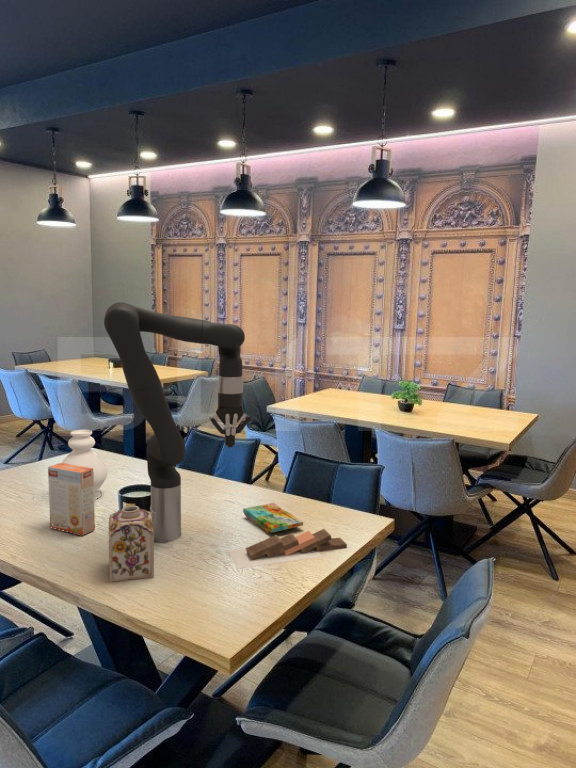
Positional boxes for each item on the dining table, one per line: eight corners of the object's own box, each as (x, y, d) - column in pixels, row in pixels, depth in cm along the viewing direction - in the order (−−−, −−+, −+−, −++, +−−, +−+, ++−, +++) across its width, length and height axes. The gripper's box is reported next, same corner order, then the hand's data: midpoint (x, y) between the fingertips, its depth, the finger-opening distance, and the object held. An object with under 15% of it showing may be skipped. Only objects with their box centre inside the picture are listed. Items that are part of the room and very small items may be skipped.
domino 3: (284, 551, 166) (314, 537, 168) (279, 544, 170) (308, 530, 173) (286, 555, 166) (316, 541, 169) (280, 548, 171) (310, 535, 173)
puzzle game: (272, 500, 200) (303, 519, 184) (272, 513, 201) (302, 533, 184) (243, 506, 194) (272, 526, 178) (243, 519, 195) (271, 540, 178)
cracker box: (96, 530, 182) (94, 467, 179) (82, 537, 176) (80, 472, 173) (63, 522, 188) (61, 461, 185) (49, 528, 182) (46, 466, 179)
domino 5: (316, 546, 169) (346, 544, 172) (310, 539, 174) (340, 537, 177) (316, 551, 169) (346, 549, 172) (310, 544, 174) (339, 542, 177)
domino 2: (266, 553, 164) (297, 539, 166) (261, 546, 168) (291, 533, 171) (268, 558, 164) (299, 544, 167) (263, 551, 169) (293, 537, 171)
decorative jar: (154, 578, 152) (153, 514, 149) (109, 583, 148) (107, 518, 146) (152, 558, 163) (151, 499, 160) (109, 563, 160) (108, 502, 157)
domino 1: (250, 555, 162) (281, 541, 165) (245, 548, 167) (276, 534, 169) (251, 560, 162) (283, 546, 165) (247, 552, 167) (277, 539, 170)
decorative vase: (46, 500, 207) (44, 434, 203) (80, 486, 223) (78, 424, 220) (86, 508, 201) (84, 439, 197) (117, 493, 217) (116, 429, 213)
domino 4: (300, 549, 167) (330, 535, 170) (295, 542, 172) (324, 528, 174) (302, 553, 168) (331, 539, 170) (296, 546, 172) (325, 533, 175)
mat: (237, 569, 158) (237, 568, 157) (227, 551, 169) (227, 550, 169) (323, 557, 166) (323, 556, 166) (308, 541, 177) (308, 540, 177)
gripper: (248, 388, 175) (247, 442, 178) (206, 389, 171) (205, 445, 173) (255, 392, 168) (253, 448, 171) (211, 393, 164) (210, 451, 166)
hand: (229, 446), depth 172 cm, fingers closed
